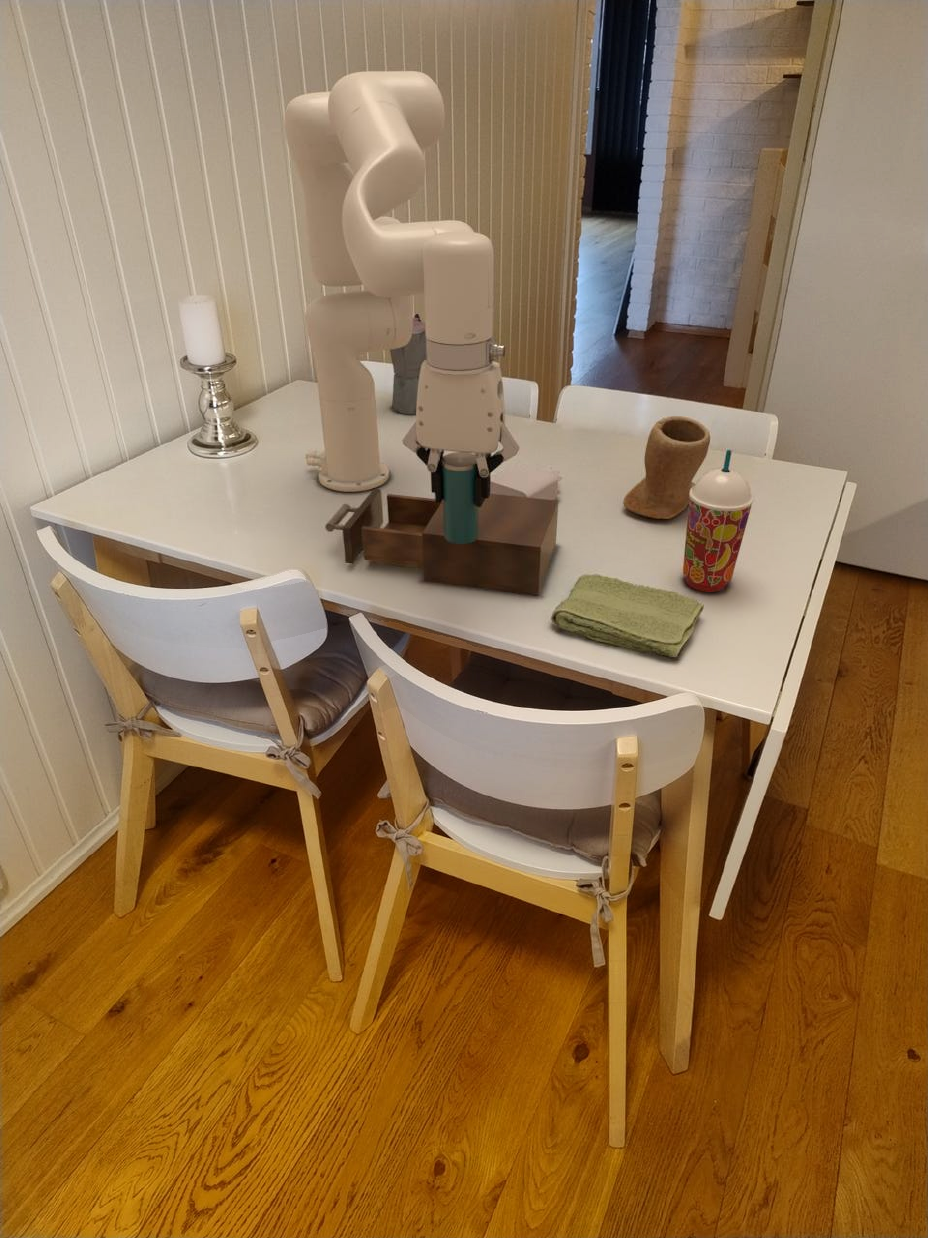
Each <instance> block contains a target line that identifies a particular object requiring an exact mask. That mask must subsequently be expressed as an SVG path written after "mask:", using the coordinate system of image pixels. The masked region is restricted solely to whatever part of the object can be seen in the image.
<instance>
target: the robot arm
mask: <svg viewBox="0 0 928 1238" xmlns="http://www.w3.org/2000/svg"><path fill="white" fill-rule="evenodd" d="M445 110H446V109H445V104H444V99H443V96H442V93H441V91H440V89H439V87H438V85H437V84H436V83H435V81H434V80H433V79H432V78H431V77H430V76H429V75H428V74H426V73H424V72H421V71H418V70H417V71H416V70H385V71H384V70H382V71H381V70H379V71H377V70H375V71H373V70H370V71H369V70H368V71H367V70H366V71H356V72H351V73H349V74H347V75H344V76H342V77H341V78H339V80H338V81H336V83H334V85H333V86H332V89H331V90H330V91H318V92H310V93H305V94H300V95H298V96H296V97H294V98H292V99H291V100H290V101H289V102H288V104H287V106H286V109H285V113H284V132H285V138H286V144H287V147H288V150H289V153H290V157H291V159H292V162H293V163H294V167H295V169H296V172H297V175H298V176H299V179H300V182H301V186H302V191H303V199H304V210H305V223H306V235H307V245H308V246H307V247H308V254H309V264H310V269H311V272H312V275H313V277H314V279H315V280H316V281H317V282H318V283H319V284H320V285H322V286H326V287H330V288H331V287H333V288H339V287H340V288H341V287H353V286H364V288H365V289H366V290H360V291H357V290H356V291H348V292H336V293H330V294H325V295H321V296H319V297H317V298H315V299H314V300H312V301H311V302H310V303H309V304H308V305H307V307H306V310H305V312H304V313H305V314H304V322H305V328H306V334H307V336H308V341H309V344H310V348H311V353H312V357H313V360H314V366H315V372H316V380H317V381H316V382H317V392H318V401H319V409H320V417H321V418H320V419H321V427H322V436H323V448H324V449H323V450H322V451H318V450H312V449H307V450H306V452H305V460H306V464H307V466H311V467H319V468H320V470H319V472H318V481H319V483H320V484H321V485H322V486H323V487H325V488H327V489H329V490H333V491H337V492H346V493H347V492H349V493H353V492H354V493H355V492H364V491H368V490H373V489H377V488H379V487H380V486H382V485H383V484H385V483H386V482H387V481H388V480H389V478H390V469H389V467H388V465H386V464H384V463H383V462H381V461H380V446H379V444H380V443H379V432H378V417H377V402H376V401H377V400H376V386H375V381H374V377H373V375H372V373H371V372H370V370H369V369H368V368H367V367H366V366H365V365H364V363H362V362H361V361H360V360H359V358H358V356H360V355H363V354H364V355H365V354H367V353H376V352H383V351H390V350H391V349H397V348H401V347H403V346H405V345H406V344H408V342H409V341H410V339H411V336H412V331H413V318H414V296H416V295H423V301H424V323H425V334H426V360H424V362H423V363H422V365H421V370H420V376H419V384H418V393H417V408H416V414H415V422H414V424H413V425H412V426H411V428H410V429H409V430H408V432H407V433H406V435H405V436H404V437H403V439H402V444H403V445H404V446H405V447H406V448H407V449H409V450H410V451H411V452H413V453H414V454H416V456H417V458H418V459H420V461H422V463H423V464H425V466H426V469H427V471H428V472H430V486H431V489H430V491H431V493H432V494H434V499H435V502H437V503H440V502H442V500H443V466H442V458H443V457H444V456H445V451H447V452H454V453H455V452H466V453H472V454H475V458H476V462H477V466H478V474H477V475H476V477H475V506H477V507H481V506H482V504H483V502H484V501H485V499H486V498H489V496H490V478H491V474H492V473H493V472H494V471H495V470H496V469H497V468H499V467H500V466H501V465H502V464H503V463H504V462H506V461H509V460H510V459H511V458H514V457H515V456H517V455H518V453H519V451H520V446H519V444H518V442H517V441H516V440H515V438H514V437H513V435H512V434H511V432H510V430H509V429H508V428H507V426H506V407H505V393H504V383H503V382H504V381H503V376H502V370H501V369H502V368H501V365H500V363H499V362H497V361H494V360H495V359H498V358H502V359H503V358H505V356H506V345H505V344H500V343H497V342H496V340H495V335H493V334H494V263H495V262H494V261H495V260H494V259H495V257H494V246H493V243H492V241H491V240H490V238H489V237H488V236H487V235H485V234H482V233H480V232H475V231H474V229H473V228H472V227H471V226H470V225H469V224H468V223H466V222H464V221H461V220H453V219H452V220H451V219H447V220H432V221H415V222H403V223H402V222H401V221H400V220H399V219H397V218H394V217H392V216H385V215H386V214H388V213H390V212H392V211H393V210H395V209H397V208H398V207H400V206H402V205H403V204H404V203H406V202H408V201H409V200H410V199H411V198H413V196H415V194H416V193H417V192H418V190H419V189H420V188H421V185H422V183H423V181H424V179H425V175H426V160H425V156H424V154H423V153H424V152H427V151H428V150H430V149H431V148H433V147H434V146H435V145H437V143H438V142H439V141H440V140H441V137H442V136H443V132H444V130H445V129H444V128H445V123H446V121H445V120H446V111H445ZM499 444H501V446H502V449H501V450H498V449H499V448H498V447H499ZM497 450H498V451H497Z"/></svg>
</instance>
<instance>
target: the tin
mask: <svg viewBox="0 0 928 1238" xmlns="http://www.w3.org/2000/svg"><path fill="white" fill-rule="evenodd" d="M442 466H443V507H444V537H445V539H446V540H447V541H449V542H451V543H456V544H466V543H471V542H473V541H475V540H476V539H477V538H478V524H479V507H477V506H475V477H476V475H477V474H478V466H477V462H476V458H475V453H466V452H455V451H454V452H449V453H446V454H444V456H443V458H442Z"/></svg>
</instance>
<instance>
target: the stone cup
mask: <svg viewBox="0 0 928 1238" xmlns="http://www.w3.org/2000/svg"><path fill="white" fill-rule="evenodd" d="M646 442H647V443H646V446H645V452H644V470H645V477H643V478H642V479H641V480H640V482H638V483H637V484H636V485H635V486H633V488H631V489H630V490H629V492H627V494H626V495H625V496H624V498H623V501H622V504H623V506H624V508H626V509H627V510H629V511H631V512H632V513H635V514H636V515H641V516H644V517H648V518H651V519H661V520H668V519H672V518H674V517H676V516H677V515H679V514H680V513H682V512H683V511H684V510H685V509H686V508H687V507H688V506H689V491H690V489H691V488H692V487H693V486H694V485H695V484H696V482H693V480H694V478H695V476H696V474H697V473H698V471H699V469H700V468H701V466H702V465H703V463H704V461H705V459H706V457H707V455H708V452H709V447H710V444H711V435H710V431H709V430H708V428H707V427H705V425H704V424H702V423H701V422H700V421H698V420H695V419H693V418H692V417H691V418H690V417H687V416H680V415H679V416H678V415H671V416H667V417H663V418H661V419H660V420H658V421H657V422H656V423H655V424H654V425H653V426H652V428H651V430H650V432H649V435H648V438H647V441H646Z"/></svg>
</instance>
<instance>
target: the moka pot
mask: <svg viewBox="0 0 928 1238" xmlns="http://www.w3.org/2000/svg"><path fill="white" fill-rule="evenodd" d="M389 354H390V357H391V358H390V359H391V364H392V367H393V369H392V370H393V373H394V374H393V384H392V403H391V404H392V405H391V407H392V409H393V411H394V412H396V413H398V414H402V415H412V416H413V415H416V408H417V393H418V384H419V376H420V370H421V365H422V363H423V362H424V360H426V334H425V321H422V320H421V318H420V315H419V314H418V313H415V315H413V331H412V336H411V339H410V341H409V342H408V344H406V345H405V346H403V347H401V348H397V349H391V350H389Z"/></svg>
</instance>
